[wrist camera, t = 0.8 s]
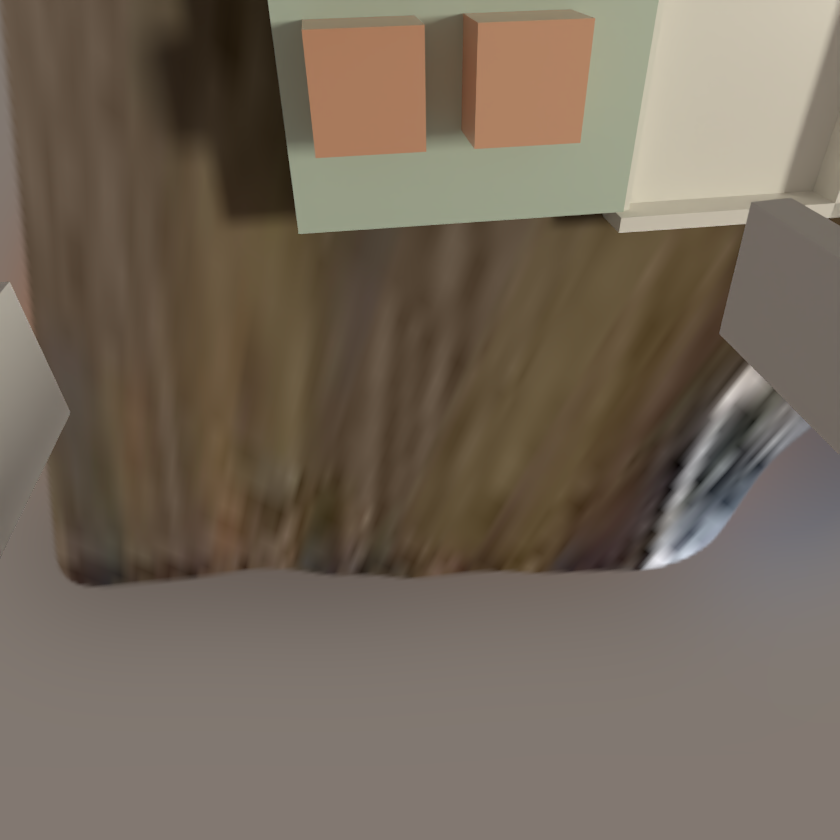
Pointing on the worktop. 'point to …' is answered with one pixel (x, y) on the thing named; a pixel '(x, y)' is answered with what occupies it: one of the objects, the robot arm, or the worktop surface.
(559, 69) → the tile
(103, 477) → the worktop surface
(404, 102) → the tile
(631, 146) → the board
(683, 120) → the tray
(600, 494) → the worktop surface
